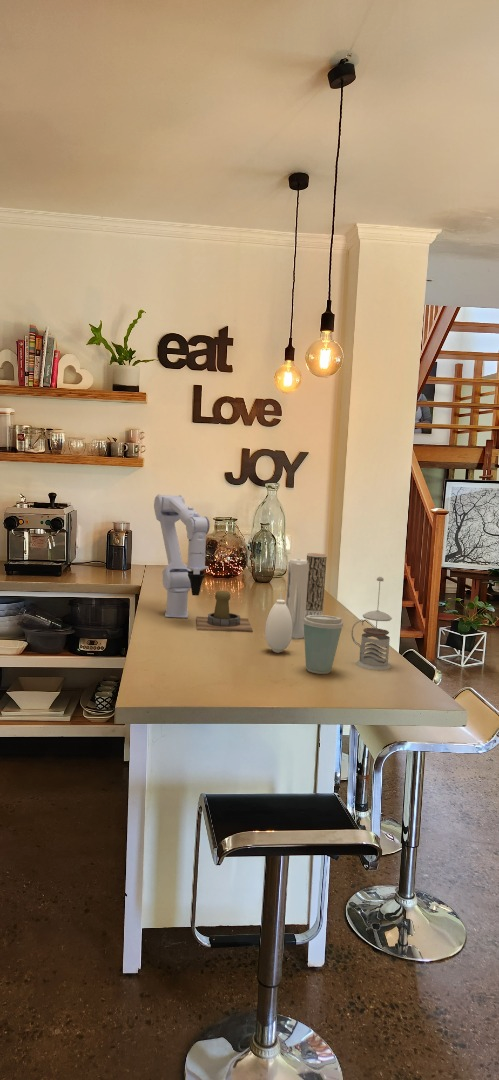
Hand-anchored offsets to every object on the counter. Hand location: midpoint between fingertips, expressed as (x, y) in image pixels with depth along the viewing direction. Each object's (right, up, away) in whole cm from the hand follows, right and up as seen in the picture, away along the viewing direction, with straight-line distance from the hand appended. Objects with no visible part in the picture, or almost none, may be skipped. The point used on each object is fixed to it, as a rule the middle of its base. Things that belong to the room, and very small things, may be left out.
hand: (195, 593), depth 228 cm
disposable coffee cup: (+37, -17, -45) cm, 61 cm away
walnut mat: (+9, -11, +3) cm, 14 cm away
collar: (+9, -11, +3) cm, 14 cm away
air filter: (+32, -13, -8) cm, 36 cm away
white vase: (+26, -15, -28) cm, 41 cm away
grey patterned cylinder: (+40, -12, +10) cm, 43 cm away
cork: (+9, -10, +2) cm, 14 cm away
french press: (+52, -17, -36) cm, 65 cm away
